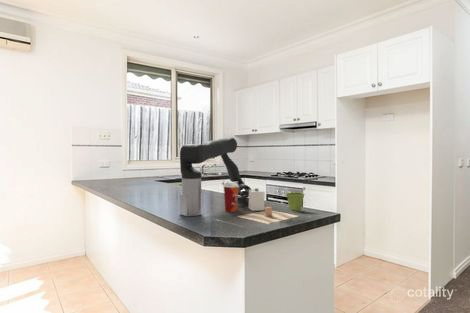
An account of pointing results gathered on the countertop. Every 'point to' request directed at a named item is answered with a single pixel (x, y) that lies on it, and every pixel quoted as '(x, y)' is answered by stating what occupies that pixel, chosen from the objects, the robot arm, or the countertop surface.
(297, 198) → the plant pot
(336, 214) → the countertop surface
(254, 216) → the board
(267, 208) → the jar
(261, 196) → the white upright block
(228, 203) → the paper cup
